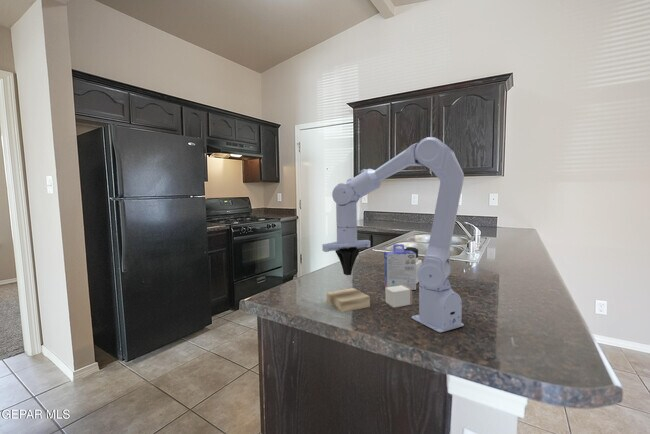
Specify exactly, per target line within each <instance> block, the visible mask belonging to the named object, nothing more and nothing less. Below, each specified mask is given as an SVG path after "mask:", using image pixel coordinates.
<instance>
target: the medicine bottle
mask: <svg viewBox="0 0 650 434" xmlns="http://www.w3.org/2000/svg"><path fill="white" fill-rule="evenodd" d="M404 248H405V251H413V252H415V253H416V285H417V284H419V280H418V277H417V271H418V269H419V267H420V266H421V265H422V263H423V261H422V260H421V259H419V250H418V248H417V247H413V246H407V247H405V246H404Z"/></svg>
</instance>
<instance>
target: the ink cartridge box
mask: <svg viewBox="0 0 650 434" xmlns="http://www.w3.org/2000/svg"><path fill="white" fill-rule="evenodd" d="M392 245H393V251H384V252H383V258H384V261H383V264H384V266H383V267H384V289H385V288H386V287H393V286H400V285H405V286H407V287H409V288H411V289H412V291H414V290H417V284H416V253H415V252H413V251H405V248H404V247H405V244H403V243H402V244H400V243H399V244H392ZM398 247H400V248H398Z"/></svg>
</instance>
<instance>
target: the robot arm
mask: <svg viewBox="0 0 650 434" xmlns="http://www.w3.org/2000/svg"><path fill="white" fill-rule="evenodd" d="M423 166H424V167H426V168H428V169H429V170H431V171H432V173H433V174H434V175H435V177H437V179H438V181H440V182H439V183H440V184H439V186H438V187H439V188H438V193H437V199H436V205H435V209H434V215H433V220H432V226H431V230H430V231H431V232H430V236H429V242H428V246H427V249H426V252H425V255H424V258H423V261H422V265H421V266H420V267H419V269H418V271H417V277H418V280H419V282H418V284H419V287H418V288H419V289H418V290H419V291H418V292H419V295H418V305H419V307H418V308H419V310H418V313H419V314H416V315H412V316H411V319H412V320H414V321H416V322H417V323H420V324H421V325H424V326H426V327H427V328H430V329H432V330H434V331H435V332H437V333H439V334H440V333H444V332H448V331H451V330H454V329H458V328H461V327H464V326H465V324H464V323H463V322H462V312H463V309H462V308H463V307H462V306H463V305H462V304H463V301H462V298H461V296H460V294H459V293H457V292H456V291H454V290H453V289H452V287H451V283H450V280H449V279H448V277H449V276H450V275H451V273H452V264H451V261H450V258H451V245H452V239H453V234H454V229H455V225H456V220H457V214H458V210H459V205H460V204H459V203H460V199H461V193H462V189H463V185H464V178H465V174H464V171H463V169H462V167H461V165H460V163H459V160H458V159H457V157H456V154H455V152H454V150H453V149H452V148H450V147H449V146H448V145H447V144H446V143H444V142H443V141H442V140H440V139H439V138H437V137H434V136H428V137H425V138H422V139H420V141H419V142H416V143H413V144H411V145H410V146H408V147H407V148H406V149H404V150H403V151H401V152H400V153H399V154H397V155H396V156H394V157H393V158H391V159H389V160H388V161H386V162H385V163H383V164H382V165H380V166H378V167H377V168H376V169H373V168H367V169H365V168H363V169H362V170H360V173H359V174H358V175H356V176H354V177H352V178H348V179H347V180H346V183H345V182H343V183H342V182H340V183H338V184H336V186H335V187H334V188H333V190H332V193H331V197H332V200H333V201H334V203H335V204H336V205H335V206H336V207H335V209H336V210H335V213H336V214H335V215H336V216H335V217H336V218H335V219H336V222H335V223H336V241H333V242H328V243H321V244H322V245H321V246H322V251H323V252H325V253H328V252H333V251H335V254H336V255H337V258H338V259H339V261H340V265H341V269H342V272H343V275H345V276H351V275H352V273H353V269H354V265H355V262H356V259H357V257H358V255H359V254H360V248H361V249H362V248H370V247H371V240H369V239H362V240H361V239H360V240H359V239H358V222H357V221H358V218H357V217H358V211H357V209H358V208H357V205H358V204H357V203H358V201H359V200H360V199H361V198H363V197H365V196H367V195H369V194H370V193H372V192H374V191H376V190H377V189H379V188H380V187H381V185H382V181H384V180H385V179H388V178H389V177H391V176H393V175H395V174H397V173H399V172H401V171H403V170H404V169H406V168H409V167H423Z"/></svg>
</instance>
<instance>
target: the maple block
mask: <svg viewBox="0 0 650 434" xmlns="http://www.w3.org/2000/svg"><path fill="white" fill-rule="evenodd" d="M326 302H327V303H328V304H329V305H330V306H332V307H333V308H335V309H336V310H338V311H339V312H341V313H344V312H349V311H355V310H360V309H364V308H370V307H371V296H370V295H368V294H366V293H364V292H362V291H360V290H358V289H356V288H354V287H351V288H345V289H339V290H334V291H328V292H326Z"/></svg>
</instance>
